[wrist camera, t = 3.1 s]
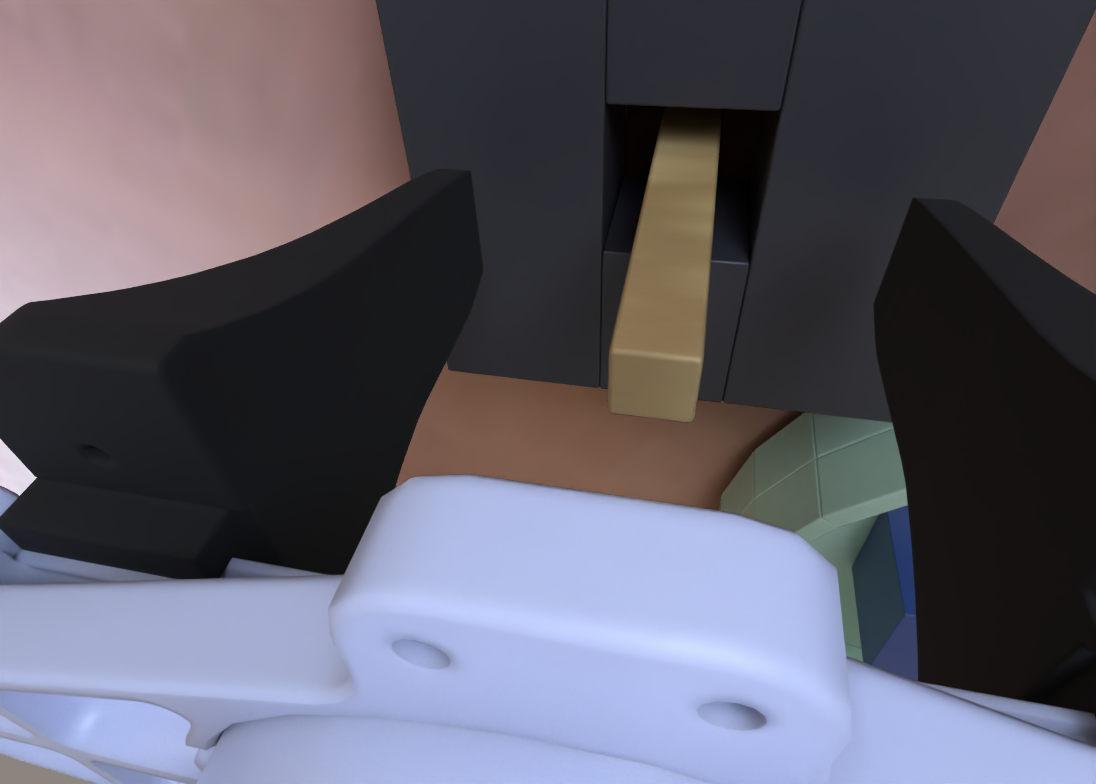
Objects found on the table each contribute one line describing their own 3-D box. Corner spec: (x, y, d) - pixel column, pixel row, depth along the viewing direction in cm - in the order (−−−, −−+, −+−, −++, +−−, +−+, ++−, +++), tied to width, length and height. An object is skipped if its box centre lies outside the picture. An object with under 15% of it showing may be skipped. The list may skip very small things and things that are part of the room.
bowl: (1697, 367, 14) (1963, 546, 11) (1159, 710, 28) (1211, 835, 25) (766, 285, 18) (770, 405, 15) (689, 626, 31) (682, 726, 28)
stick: (723, 88, 14) (703, 360, 8) (716, 142, 15) (693, 426, 9) (668, 86, 15) (607, 350, 8) (664, 139, 16) (606, 414, 9)
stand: (1097, -230, 10) (1206, -218, 8) (878, 330, 18) (898, 424, 15) (420, -202, 12) (337, -184, 10) (484, 292, 20) (447, 370, 17)
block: (1020, 520, 21) (1061, 641, 18) (970, 585, 24) (998, 698, 21) (885, 501, 22) (904, 614, 19) (851, 566, 25) (863, 673, 22)
